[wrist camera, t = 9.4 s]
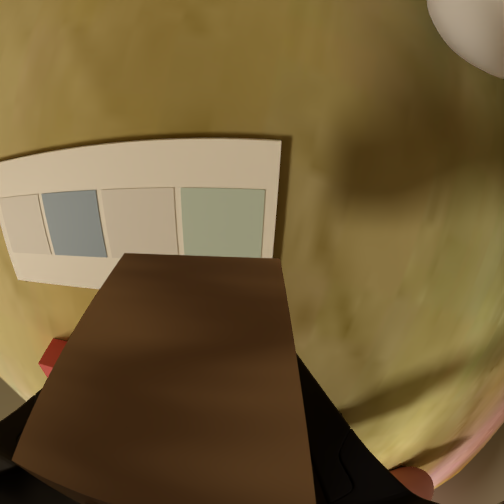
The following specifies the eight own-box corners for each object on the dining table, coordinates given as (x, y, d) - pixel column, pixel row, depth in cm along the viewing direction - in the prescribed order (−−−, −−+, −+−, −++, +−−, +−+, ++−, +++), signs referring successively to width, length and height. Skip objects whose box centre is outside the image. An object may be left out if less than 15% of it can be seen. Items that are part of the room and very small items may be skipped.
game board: (280, 139, 15) (281, 141, 14) (268, 293, 20) (268, 299, 19) (-7, 163, 14) (-12, 165, 14) (21, 275, 19) (17, 279, 18)
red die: (80, 344, 23) (66, 371, 19) (91, 367, 24) (80, 394, 21) (53, 338, 23) (38, 363, 19) (65, 361, 24) (52, 386, 21)
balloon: (414, 448, 39) (432, 511, 25) (429, 459, 46) (443, 507, 33) (345, 476, 43) (354, 537, 30) (374, 483, 51) (383, 530, 37)
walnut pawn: (280, 258, 9) (323, 586, 1) (267, 363, 11) (277, 570, 4) (124, 252, 8) (-5, 512, 1) (149, 356, 11) (103, 547, 4)
